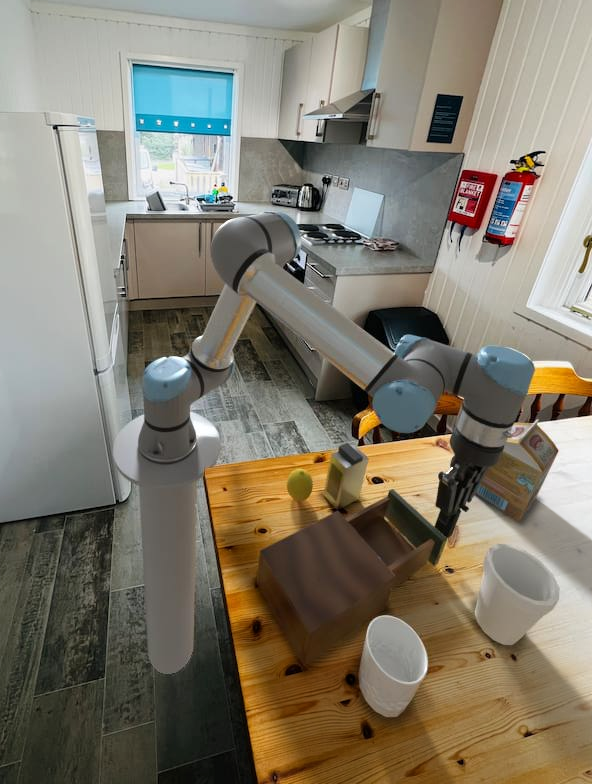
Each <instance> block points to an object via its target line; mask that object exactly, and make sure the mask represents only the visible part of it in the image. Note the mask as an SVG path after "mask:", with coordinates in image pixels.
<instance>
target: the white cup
mask: <svg viewBox="0 0 592 784" xmlns="http://www.w3.org/2000/svg"><path fill="white" fill-rule="evenodd" d="M363 643H364V644H363V648H362V652H361V658H360V663H359V664H360V665H359V669H358V673H357V674H358V675H357V676H358V686H359V689H360V691H361V694H362V696H363V698H364V700H365V702H366V703H367V704H368V705H369V706H370V707H371V708H372V710H373V711H374V712H375V713H377V714H379V715H381V716H383V717H384V718H397V717H399V716H400V715H401V714H402V713H403V712H404V711H405V710H406V708H407V706H408V705H409V704H410V703H411V701H412V700H413V698H414V697H415V695H416V693H417V692H418V690H419V688H420V686H421V684H422V683H423V681H424V679H425V677H426V675H427V673H428V669H429V657H428V653H427V649H426V647H425V645H424V643H423V641H422V639H421V638H420V636H419V635H418V633H417V632H416V631H415V630H414V629H413V628H412V627H411V626H410V625H409V624H408V623H406V622H405V621H404V620H402V619H400V618H398V617H395V616H392V615H380V616H377V617H375V618H374V619H372V621H370V622H369V625H368V627H367V629H366V635H365V639H364V642H363Z"/></svg>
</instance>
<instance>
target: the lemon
mask: <svg viewBox="0 0 592 784" xmlns="http://www.w3.org/2000/svg"><path fill="white" fill-rule="evenodd" d="M313 482H314V481H313V478H312V476H311V474H310V472H309V471H307V470H306V469H304V468H296V469H293V470H292V471H291V472H290V473H289V475H288V477H287V480H286V489H287V493H288V495H289V496H290V498H292V499H293V500H295V501H297V502H303V501H306V500H307V499H309V498H310V496H311V494H312V492H313V487H314V483H313Z"/></svg>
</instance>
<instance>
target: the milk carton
mask: <svg viewBox="0 0 592 784" xmlns="http://www.w3.org/2000/svg"><path fill="white" fill-rule="evenodd" d="M538 424H539V419H538V418H537V419H536V420H535V421H533V423H532V422H514V424H513V427H512V429H511V431H510V432H511V433H512V434H513V437H512V438H510V439H509V438H508V439H507V441H506V443H505V444H504V450H503V452H502V454H501V457H500V459H499V462H498V463H497V464H496V465H494V466H491V467H489V468H488V470H487V472H486V474H485V476H484V478H483V479H482V481H481V483H480V485H479V487H478V489H477V491H476V493H475V494H474V495H477V496H478V497H480V498H481V499H482V500H484V501H486V502H488V503H489V504H491V505H493V506H494V507H496V508H497V509H498V510H500V511H502V512H504V513H505V514H506V515H508V516H509V517H511V518H512V519H514V520H516V521H517V522H520V521H522V519H523V518H524V516H525V514H526V513H527V512H528V510H529V509H530V508H531V506H532V504H533V503H534V501H535V500H536V499H537V497H538V495H539V493H540V491H541V489H542V487H543V485H544V483H545V481H546V479H547V476H548V474H549V472H550V470H551V468H552V466H553V464H554V462H555V460H556V458H557V456H558V454H559V451H560V450H559V449H558V447H557V446H556V444H555V442H554V441H553V440H552V439H551V438H550V436H549V435H548V434H547V433H546V432H545V430H543V429H542V428H541V427H540V426H539V425H538Z"/></svg>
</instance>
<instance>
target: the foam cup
mask: <svg viewBox="0 0 592 784" xmlns="http://www.w3.org/2000/svg"><path fill="white" fill-rule="evenodd" d="M482 570H483V572H482V577H481V582H480V586H479V589H478V590H479V591H478V596H477V600H476V605H475V610H474V615H475V620H476V623H477V624H478V625H479V627H480V629H481V630H482V632H483V633H485V634H486V635H487V636H488V637H489V638H491V640H492V641H494V642H496V643H499V644H500V645H502V646H513V645H514V644H516V643H517V642H518V641H520V639H522V638H523V637H524V636H525V635H526V634H527V633H528V632H529V631H530V630H532V628H533V627H534V626H535V625H536V624H537V623H538V622H539V621H540V620H541V619H542V618H543V617H544V616H546V615H548V614H549V613H550V612H552V611H553V610H554V609H555V607H556V605H557V604H558V603H559V600H560V590H561V588H560V586H559V584H558V582H557V580H556V578H555V576H554V573H552V572H551V570H550V569H549V568H548V567H547V566H546V565H545V564H544V563H543V562H542V561H541V560H540V559H539V558H537V557H536V556H534V555H532V554H531V553H529V552H528V551H527V550H525V549H523V548H520V547H518V546H515V545H513V544H506V543H497V544H495V545H493V546H491V547H489V548H488V551H487V553H486V555H485V557H484V561H483V565H482Z"/></svg>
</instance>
